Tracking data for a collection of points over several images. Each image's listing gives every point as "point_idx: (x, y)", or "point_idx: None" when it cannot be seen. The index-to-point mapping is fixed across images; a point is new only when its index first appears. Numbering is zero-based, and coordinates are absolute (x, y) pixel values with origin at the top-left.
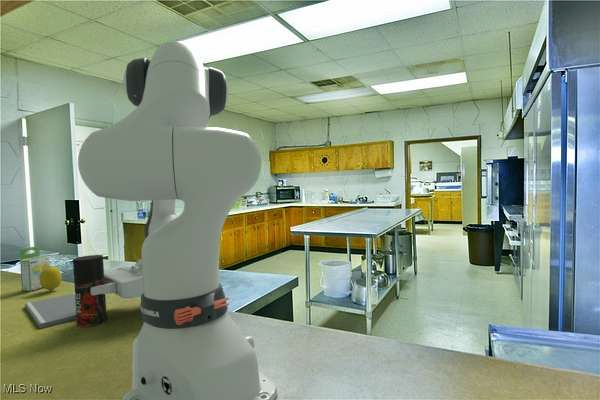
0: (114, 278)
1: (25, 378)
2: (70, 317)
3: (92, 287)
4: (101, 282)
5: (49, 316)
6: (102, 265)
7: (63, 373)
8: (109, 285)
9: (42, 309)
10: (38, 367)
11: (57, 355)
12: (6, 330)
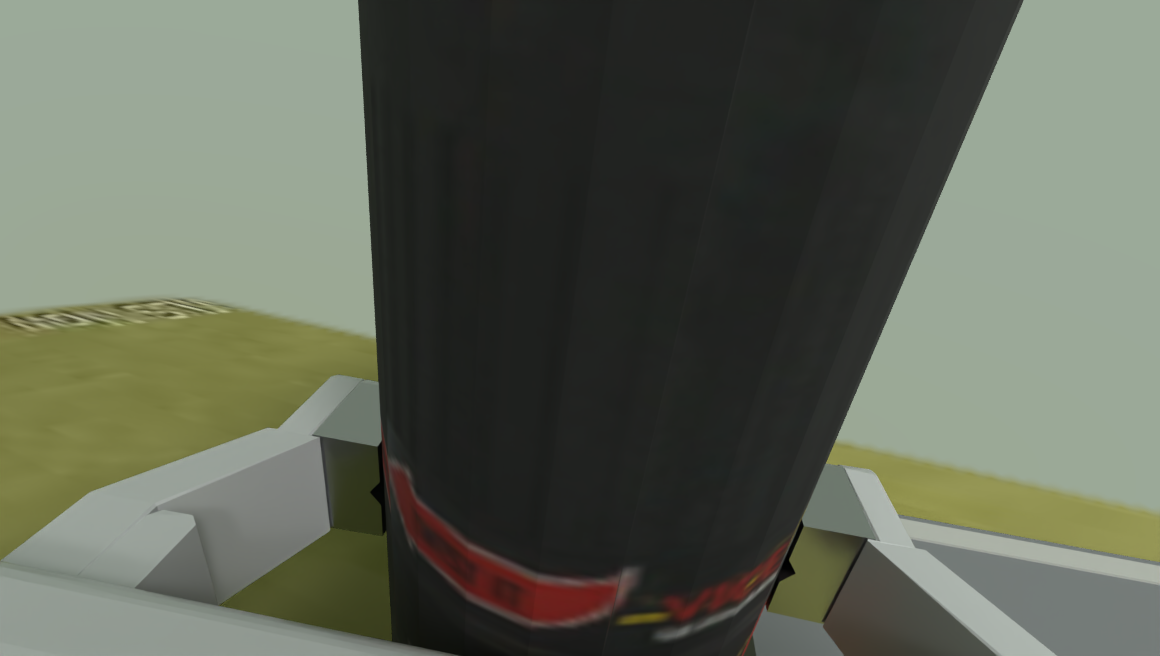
0: (97, 609)
1: (202, 328)
2: (750, 642)
3: (343, 378)
4: (388, 484)
5: None
6: (413, 194)
7: (48, 365)
8: (102, 503)
9: (1122, 605)
10: (227, 359)
11: (236, 412)
12: None
